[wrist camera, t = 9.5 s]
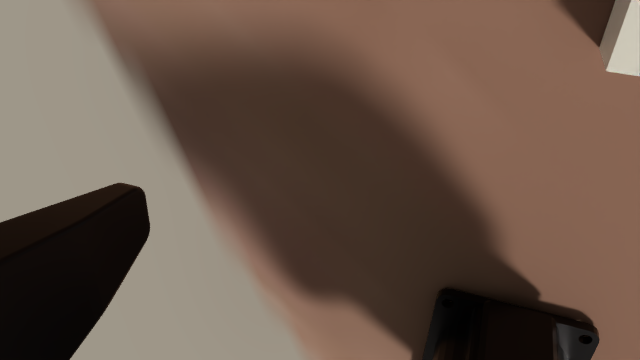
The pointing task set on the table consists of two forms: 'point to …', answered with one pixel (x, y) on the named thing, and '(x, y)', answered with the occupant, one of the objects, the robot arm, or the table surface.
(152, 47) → the table surface
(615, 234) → the table surface
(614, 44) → the tray
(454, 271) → the table surface
